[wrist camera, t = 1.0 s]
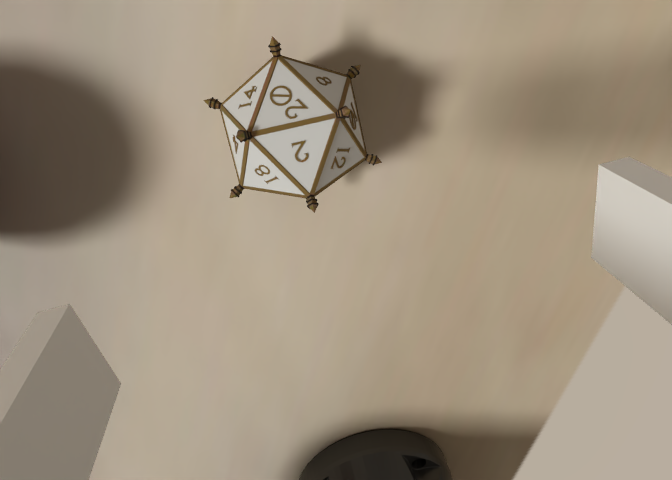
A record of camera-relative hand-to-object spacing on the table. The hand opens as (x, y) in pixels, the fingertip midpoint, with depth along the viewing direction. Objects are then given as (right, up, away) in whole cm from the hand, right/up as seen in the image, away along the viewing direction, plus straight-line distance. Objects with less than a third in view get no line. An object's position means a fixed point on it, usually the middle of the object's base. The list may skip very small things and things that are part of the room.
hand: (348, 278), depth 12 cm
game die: (-3, +9, +17) cm, 19 cm away
